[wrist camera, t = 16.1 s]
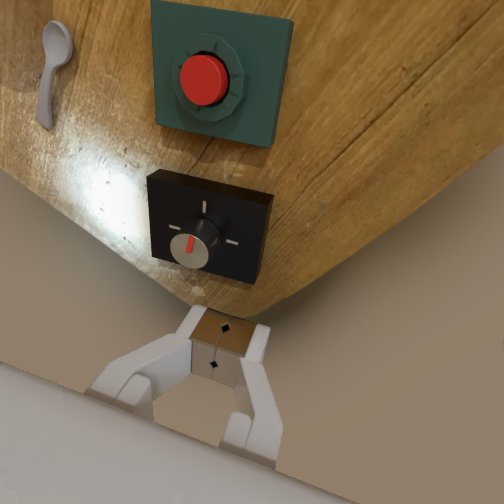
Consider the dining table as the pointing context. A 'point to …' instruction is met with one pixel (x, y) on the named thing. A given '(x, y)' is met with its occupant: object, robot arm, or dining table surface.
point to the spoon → (52, 66)
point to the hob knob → (195, 243)
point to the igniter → (234, 61)
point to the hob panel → (217, 211)
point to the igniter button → (203, 79)
